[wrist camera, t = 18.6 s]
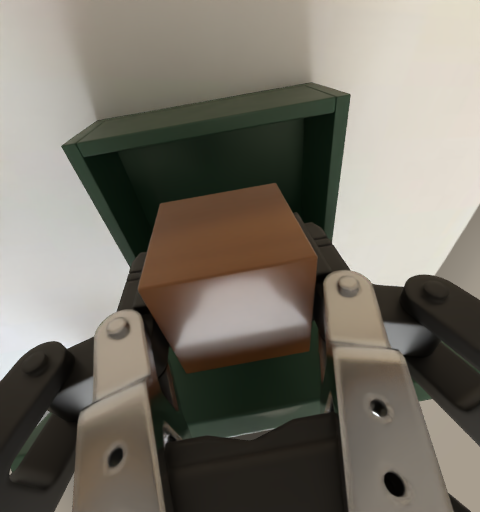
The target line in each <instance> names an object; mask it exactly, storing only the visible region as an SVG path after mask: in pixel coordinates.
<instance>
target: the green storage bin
mask: <svg viewBox="0 0 480 512" xmlns="http://www.w3.org/2000/svg"><path fill="white" fill-rule="evenodd" d="M349 103H350V94H348V93H345V92H341V91H338V90H335V89H332V88H328V87H325V86H322V85H319V84H315V83H312V82H311V83H306V84H300V85H295V86H289V87H283V88H278V89H272V90H266V91H261V92H255V93H250V94H244V95H238V96H233V97H227V98H221V99H216V100H210V101H205V102H199V103H193V104H188V105H182V106H176V107H171V108H165V109H160V110H154V111H148V112H143V113H137V114H131V115H126V116H120V117H115V118H109V119H103V120H98V121H96V122H94V123H93V124H91V125H90V126H89V127H87V128H86V129H84V130H83V131H82V132H80V133H79V134H77V135H76V136H74V137H73V138H72V139H70V140H69V141H67V142H66V143H65V144H63V145H62V146H61V147H62V148H63V150H64V152H65V154H66V155H67V157H68V159H69V161H70V163H71V164H72V166H73V168H74V170H75V171H76V173H77V175H78V177H79V178H80V180H81V182H82V184H83V185H84V187H85V189H86V191H87V192H88V194H89V196H90V198H91V200H92V201H93V203H94V205H95V207H96V208H97V210H98V212H99V214H100V215H101V217H102V219H103V221H104V222H105V224H106V226H107V228H108V229H109V231H110V233H111V235H112V236H113V238H114V240H115V242H116V244H117V245H118V247H119V249H120V251H121V252H122V254H123V256H124V258H125V259H126V261H127V263H128V265H129V266H130V268H131V265H132V262H133V261H134V260H135V258H136V257H137V256H138V255H139V254H140V253H142V252H147V249H148V245H149V242H150V239H151V236H152V232H153V228H154V224H155V220H156V217H157V213H158V209H159V205H160V204H161V203H166V202H171V201H177V200H182V199H188V198H193V197H199V196H205V195H210V194H216V193H221V192H227V191H233V190H238V189H244V188H249V187H255V186H260V185H266V184H272V183H276V184H277V186H278V187H279V189H280V191H281V193H282V195H283V196H284V198H285V200H286V202H287V203H288V205H289V207H290V209H291V211H292V212H293V213H295V212H297V213H298V214H299V216H300V217H301V219H302V221H303V222H304V223H309V222H313V223H314V224H316V225H318V226H319V227H321V228H322V229H323V231H324V232H325V234H326V235H327V237H328V238H329V239H330V241H331V242H332V237H333V229H334V221H335V213H336V205H337V197H338V190H339V182H340V174H341V166H342V158H343V150H344V142H345V135H346V127H347V119H348V111H349Z"/></svg>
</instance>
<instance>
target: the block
mask: <svg viewBox="0 0 480 512" xmlns="http://www.w3.org/2000/svg"><path fill="white" fill-rule="evenodd" d="M317 260H318V257H317V255H316V253H315V251H314V250H313V248H312V246H311V244H310V242H309V241H308V239H307V237H306V235H305V234H304V232H303V230H302V228H301V226H300V225H299V223H298V221H297V219H296V218H295V216H294V214H293V212H292V211H291V209H290V207H289V205H288V203H287V202H286V200H285V198H284V196H283V195H282V193H281V191H280V189H279V187H278V186H277V184H276V183H272V184H266V185H260V186H255V187H249V188H244V189H238V190H233V191H227V192H221V193H216V194H210V195H205V196H199V197H193V198H188V199H182V200H177V201H171V202H166V203H161V204H160V205H159V209H158V213H157V217H156V220H155V224H154V228H153V232H152V236H151V240H150V243H149V247H148V251H147V255H146V259H145V262H144V266H143V270H142V274H141V278H140V282H139V285H138V292H139V294H140V295H141V297H142V299H143V300H144V302H145V304H146V306H147V307H148V309H149V311H150V312H151V314H152V316H153V317H154V319H155V321H156V323H157V324H158V326H159V328H160V329H161V331H162V333H163V335H164V336H165V338H166V340H167V341H168V343H169V345H170V347H171V348H172V350H173V352H174V353H175V355H176V357H177V358H178V360H179V362H180V364H181V365H182V367H183V369H184V370H185V372H186V373H187V374H189V373H194V372H200V371H205V370H210V369H216V368H221V367H227V366H232V365H237V364H243V363H248V362H254V361H259V360H265V359H270V358H275V357H281V356H286V355H292V354H297V353H302V352H308V351H310V341H311V329H312V318H313V306H314V294H315V283H316V271H317Z"/></svg>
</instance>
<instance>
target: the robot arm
mask: <svg viewBox="0 0 480 512" xmlns="http://www.w3.org/2000/svg"><path fill="white" fill-rule="evenodd" d="M293 214H294V216H295V218H296V219H297V221H298V223H299V225H300V226H301V228H302V230H303V232H304V234H305V235H306V237H307V239H308V241H309V242H310V244H311V246H312V248H313V250H314V251H315V253H316V255H317V257H318V260H317V271H316V283H315V294H314V306H313V318H312V321H315V323H316V325H317V327H318V334H317V338H318V356H319V375H320V414H317V415H312V416H307V417H301V418H296V419H292V420H290V421H288V422H286V423H285V424H283V425H281V426H279V427H277V428H275V429H273V430H272V431H270V432H268V433H266V434H264V435H262V436H260V437H258V438H257V439H254V440H250V441H248V440H240V439H232V438H225V437H217V436H209V435H205V436H200V437H195V438H192V436H191V433H190V430H189V428H188V425H187V423H186V421H185V418H184V416H183V412H182V409H181V404H180V400H179V396H178V392H177V388H176V384H175V379H174V375H173V371H172V367H171V363H170V360H169V359H168V353H169V347H170V345H169V343H168V341H167V340H166V338H165V336H164V335H163V333H162V331H161V329H160V328H159V326H158V324H157V323H156V321H155V319H154V317H153V316H152V314H151V312H150V311H149V309H148V307H147V306H146V304H145V302H144V300H143V299H142V297H141V295H140V294H139V292H138V285H139V282H140V278H141V274H142V270H143V266H144V262H145V259H146V255H147V252H142V253H140V254H139V255H138V256H137V257H136V258H135V260H134V261H133V262H132V265H131V268H130V271H129V273H130V274H128V277H127V282H126V284H125V287H124V290H123V293H122V296H121V300H120V303H119V306H118V309H117V312H116V313H113V314H112V315H110V316H109V317H107V318H106V319H105V320H104V321H103V322H102V323H101V324H100V325H99V327H98V328H97V330H96V332H95V335H94V337H92V338H90V339H88V340H86V341H83V342H81V343H79V344H77V345H75V346H72V347H70V348H68V349H66V348H65V347H64V346H63V345H62V344H61V343H59V342H55V341H51V342H46V343H43V344H40V345H38V346H36V347H34V348H33V349H31V350H30V351H28V352H27V353H26V354H25V355H23V356H22V357H21V358H20V359H19V360H18V361H17V363H16V364H15V365H14V366H13V367H12V368H11V370H10V371H9V372H8V373H7V374H6V376H5V377H4V378H3V379H2V380H1V381H0V512H54V511H55V509H56V507H57V505H58V503H59V501H60V499H61V497H62V495H63V493H64V491H65V489H66V487H67V485H68V483H69V481H70V479H71V477H72V475H73V473H74V471H75V473H74V491H73V506H72V512H471V511H470V510H468V509H467V508H466V507H465V506H464V505H462V504H461V503H460V502H459V501H458V500H456V499H455V498H454V497H453V496H452V495H450V494H449V493H448V492H447V489H446V485H445V482H444V479H443V476H442V473H441V470H440V467H439V464H438V460H437V458H436V454H435V451H434V448H433V445H432V442H431V439H430V435H429V432H428V429H427V426H426V423H425V420H424V416H423V414H422V410H421V407H420V404H419V401H418V398H417V394H416V391H415V388H414V385H413V382H412V379H411V377H412V378H413V379H414V380H415V381H416V382H417V383H418V384H419V385H420V386H421V387H422V388H423V389H424V390H425V391H426V392H427V393H428V394H429V396H430V397H431V398H432V399H433V400H435V401H436V403H438V405H439V406H440V407H441V408H442V409H443V410H444V411H445V412H446V413H447V414H448V415H449V416H450V417H451V418H452V419H453V420H454V421H455V422H456V423H457V424H458V425H459V426H460V427H461V428H462V429H463V430H464V431H465V432H466V433H467V434H468V435H469V436H470V437H471V438H472V439H473V440H474V441H475V442H476V443H477V444H478V445H479V446H480V374H479V373H478V372H477V371H476V370H475V369H473V368H472V367H471V366H470V365H468V364H467V363H466V362H465V361H464V360H462V359H461V358H460V357H459V356H457V355H456V354H455V353H454V352H453V351H451V350H450V349H449V348H448V347H446V346H445V345H444V344H443V343H442V342H441V341H443V342H444V343H445V344H446V345H448V346H449V347H450V348H451V349H453V350H454V351H455V352H456V353H457V354H459V355H460V356H461V357H462V358H464V359H465V360H466V361H467V362H468V363H470V364H471V365H472V366H473V367H475V368H476V369H477V370H478V371H480V300H479V299H477V298H475V297H474V296H472V295H471V294H469V293H468V292H466V291H464V290H463V289H461V288H460V287H458V286H456V285H454V284H453V283H451V282H450V281H448V280H445V279H443V278H440V277H437V276H432V275H417V276H413V277H411V278H409V279H408V280H407V281H406V283H405V286H404V287H397V286H383V285H375V284H372V283H371V282H370V281H369V280H368V279H367V278H366V277H365V276H363V275H362V274H359V273H357V272H354V271H351V270H350V269H349V267H348V266H347V265H346V263H345V262H344V260H343V259H342V257H341V256H340V254H339V253H338V251H337V250H336V248H335V247H334V245H332V242H331V241H330V239H329V238H328V237H327V235H326V234H325V232H324V231H323V229H322V228H321V227H319V226H318V225H316V224H314V223H313V222H309V223H304V222H303V221H302V219H301V217H300V216H299V214H298V213H297V212H295V213H293ZM150 240H151V239H150ZM149 243H150V242H149ZM148 247H149V245H148ZM147 251H148V249H147ZM47 410H48V411H49V412H51V413H52V415H51V416H50V418H49V419H48V421H47V422H46V424H45V426H44V427H43V429H42V430H41V432H40V433H39V435H38V436H37V438H36V440H35V441H34V443H33V444H32V446H31V447H30V449H29V451H28V452H27V454H26V455H25V457H24V458H23V460H22V461H21V463H20V465H19V466H18V467H17V469H16V470H15V471H14V472H13V473H12V474H11V475H9V472H10V468H11V465H12V463H13V461H14V459H15V458H16V456H17V455H18V453H19V452H20V450H21V449H22V447H23V446H24V444H25V443H26V441H27V440H28V438H29V436H30V435H31V433H32V432H33V430H34V429H35V427H36V426H37V424H38V423H39V421H40V420H41V418H42V417H43V415H44V414H45V412H46V411H47Z"/></svg>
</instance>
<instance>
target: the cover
mask: <svg viewBox="0 0 480 512" xmlns="http://www.w3.org/2000/svg"><path fill="white" fill-rule="evenodd" d="M317 334H318V327H317V325H316V323H315V321H312V329H311V341H310V351H308V352H302V353H297V354H292V355H286V356H281V357H275V358H270V359H265V360H259V361H254V362H248V363H243V364H237V365H232V366H227V367H221V368H216V369H210V370H205V371H200V372H194V373H189V374H187V373H186V372H185V370H184V369H183V367H182V365H181V364H180V362H179V360H178V358H177V357H176V355H175V353H174V352H173V350H172V348H171V347H169V353H168V359H169V360H170V363H171V367H172V371H173V375H174V379H175V384H176V388H177V392H178V396H179V400H180V404H181V409H182V412H183V416H184V418H185V421H186V423H187V425H188V428H189V430H190V433H191V436H192V438H195V437H200V436H205V435H209V436H217V437H225V438H229V437H233V436H239V435H244V434H250V433H255V432H260V431H266V430H271V429H275V428H277V427H279V426H281V425H283V424H285V423H286V422H288V421H290V420H292V419H296V418H301V417H307V416H312V415H317V414H320V375H319V356H318V338H317ZM441 342H442V343H443V344H444V345H445V346H446V347H448V348H449V349H450V350H451V351H453V352H454V353H455V354H456V355H457V356H459V357H460V358H461V359H462V360H464V361H465V362H466V363H467V364H468V365H470V366H471V367H472V368H473V369H475V370H476V371H477V372H478V373H479V374H480V371H478V370H477V369H476V368H475V367H473V366H472V365H471V364H470V363H468V362H467V361H466V360H465V359H464V358H462V357H461V356H460V355H459V354H457V353H456V352H455V351H454V350H453V349H451V348H450V347H449V346H448V345H446V344H445V343H444V342H443V341H441ZM411 379H412V382H413V385H414V388H415V391H416V394H417V398H418V401H424V400H429V399H432V398H431V397H430V396H429V394H428V393H427V392H426V391H425V390H424V389H423V388H422V387H421V386H420V385H419V384H418V383H417V382H416V381H415V380H414V379H413V378H412V377H411ZM51 415H52V413H51V412H50V413H49V414H48V415H47V416H46V417H45V418H44V419H43V420H42V421H41V422H40V423H39V425H38V426H37V427H36V428H35V429H34V430H33V432H32V433H31V435H30V436H29V438H28V440H27V441H26V443H25V444H24V446H23V447H22V449H21V450H20V452H19V453H18V455H17V456H16V458H15V459H14V461H13V463H12V465H11V471H12V473H13V472H14V471H15V470H16V469H17V467H18V466H19V465H20V463H21V461H22V460H23V458H24V457H25V455H26V454H27V452H28V451H29V449H30V447H31V446H32V444H33V443H34V441H35V440H36V438H37V436H38V435H39V433H40V432H41V430H42V429H43V427H44V426H45V424H46V422H47V421H48V419H49V418H50V416H51Z"/></svg>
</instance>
